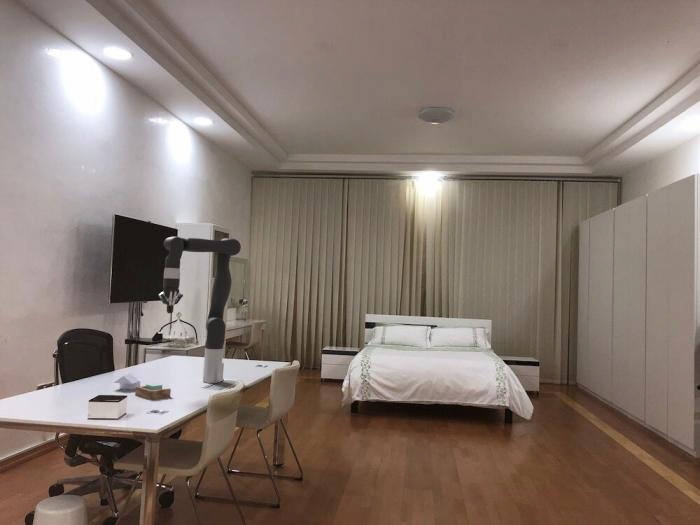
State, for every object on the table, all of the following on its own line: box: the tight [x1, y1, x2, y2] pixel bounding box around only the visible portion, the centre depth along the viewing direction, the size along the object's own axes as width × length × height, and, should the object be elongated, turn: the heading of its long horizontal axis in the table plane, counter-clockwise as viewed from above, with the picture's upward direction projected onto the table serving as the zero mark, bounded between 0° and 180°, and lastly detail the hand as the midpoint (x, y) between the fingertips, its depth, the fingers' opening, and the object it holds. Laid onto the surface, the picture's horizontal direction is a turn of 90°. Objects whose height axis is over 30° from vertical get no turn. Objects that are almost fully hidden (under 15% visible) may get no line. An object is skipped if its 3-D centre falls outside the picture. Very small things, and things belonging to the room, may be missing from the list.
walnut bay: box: [134, 385, 172, 401], centre depth 248 cm, size 10×12×4 cm
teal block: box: [145, 383, 163, 390], centre depth 248 cm, size 5×5×5 cm
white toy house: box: [113, 372, 141, 390], centre depth 262 cm, size 9×7×13 cm
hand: (169, 313), depth 271 cm, fingers closed
